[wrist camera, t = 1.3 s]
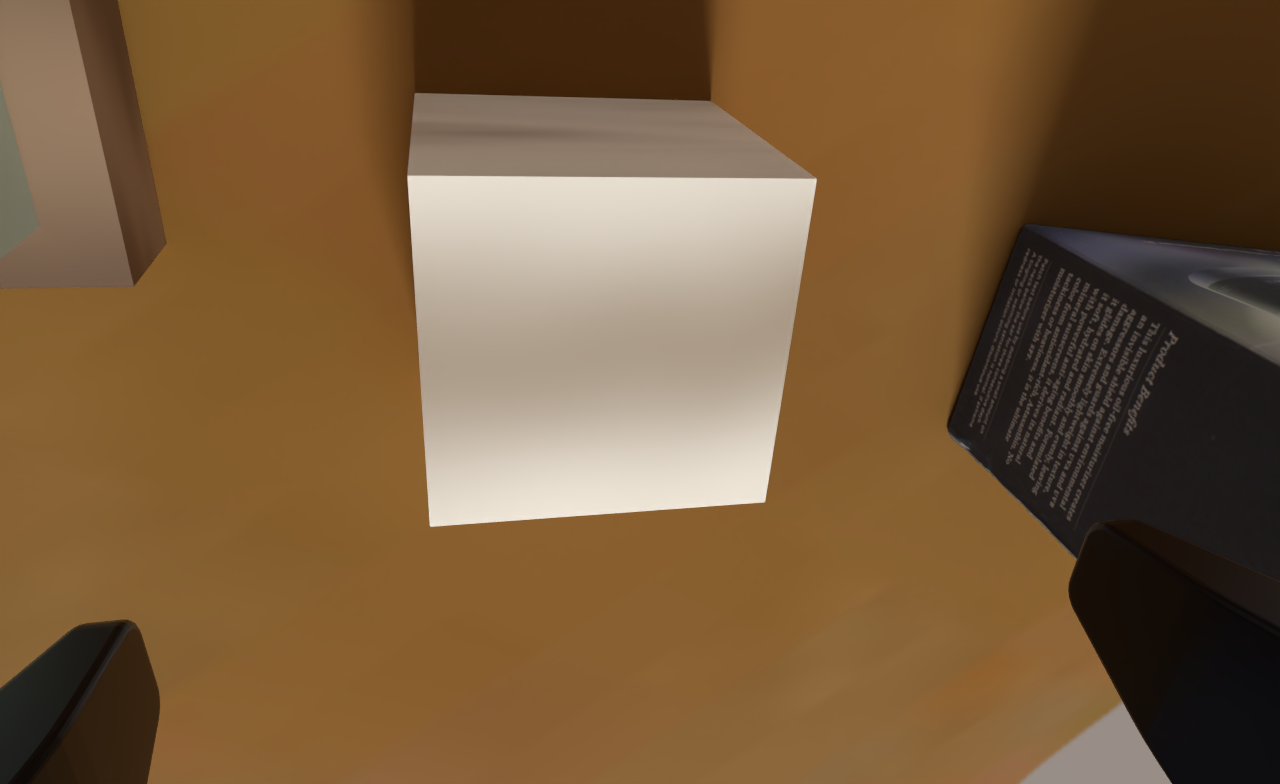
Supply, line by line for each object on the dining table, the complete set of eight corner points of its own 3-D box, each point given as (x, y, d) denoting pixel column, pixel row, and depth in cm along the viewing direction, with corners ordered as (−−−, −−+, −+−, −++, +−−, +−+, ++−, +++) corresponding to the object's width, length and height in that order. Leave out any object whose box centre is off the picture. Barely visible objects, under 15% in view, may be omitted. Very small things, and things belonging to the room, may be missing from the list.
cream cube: (684, 356, 21) (764, 502, 16) (430, 365, 20) (430, 526, 15) (709, 100, 18) (816, 178, 13) (414, 92, 17) (407, 175, 12)
